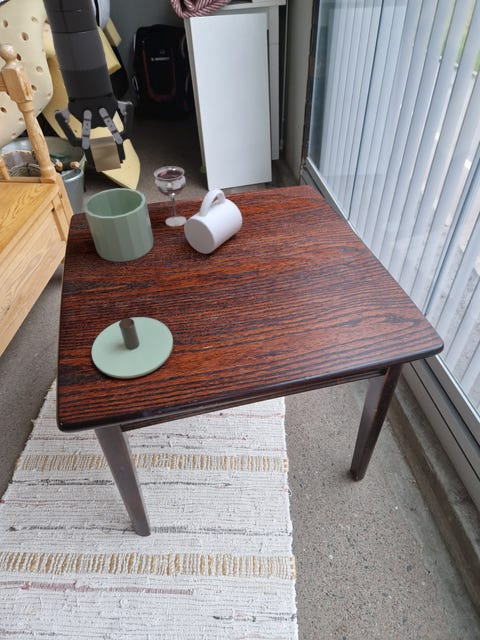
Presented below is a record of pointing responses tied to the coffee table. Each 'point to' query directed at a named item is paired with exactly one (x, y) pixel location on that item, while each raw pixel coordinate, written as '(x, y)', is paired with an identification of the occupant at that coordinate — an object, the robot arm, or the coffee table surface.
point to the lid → (132, 347)
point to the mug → (213, 223)
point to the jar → (119, 224)
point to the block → (105, 153)
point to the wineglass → (171, 188)
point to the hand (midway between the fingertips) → (107, 163)
